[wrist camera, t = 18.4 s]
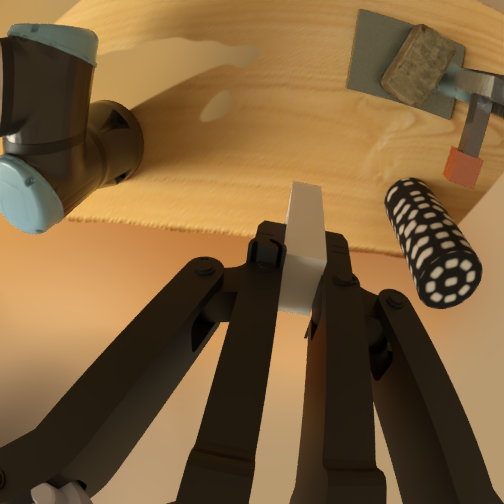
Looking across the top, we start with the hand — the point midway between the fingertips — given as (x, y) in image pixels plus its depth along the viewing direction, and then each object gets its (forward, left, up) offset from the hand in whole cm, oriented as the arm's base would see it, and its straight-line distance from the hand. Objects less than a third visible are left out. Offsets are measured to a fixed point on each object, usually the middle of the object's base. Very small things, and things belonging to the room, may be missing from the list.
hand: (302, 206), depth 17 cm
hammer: (+19, +6, -23) cm, 30 cm away
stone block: (+13, +11, -29) cm, 34 cm away
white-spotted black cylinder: (+19, -10, -31) cm, 37 cm away
